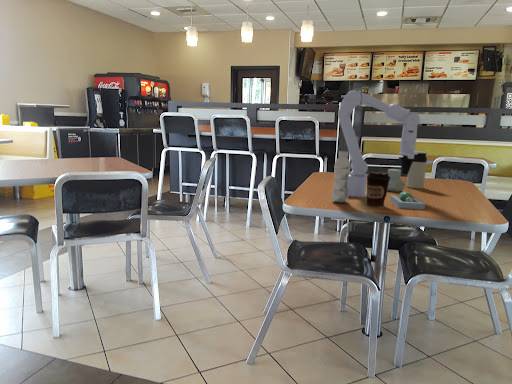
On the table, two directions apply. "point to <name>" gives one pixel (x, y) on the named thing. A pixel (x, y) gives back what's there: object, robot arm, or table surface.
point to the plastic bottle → (341, 177)
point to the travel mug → (417, 171)
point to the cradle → (407, 203)
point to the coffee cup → (377, 188)
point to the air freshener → (395, 181)
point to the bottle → (406, 197)
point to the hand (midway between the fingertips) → (404, 174)
